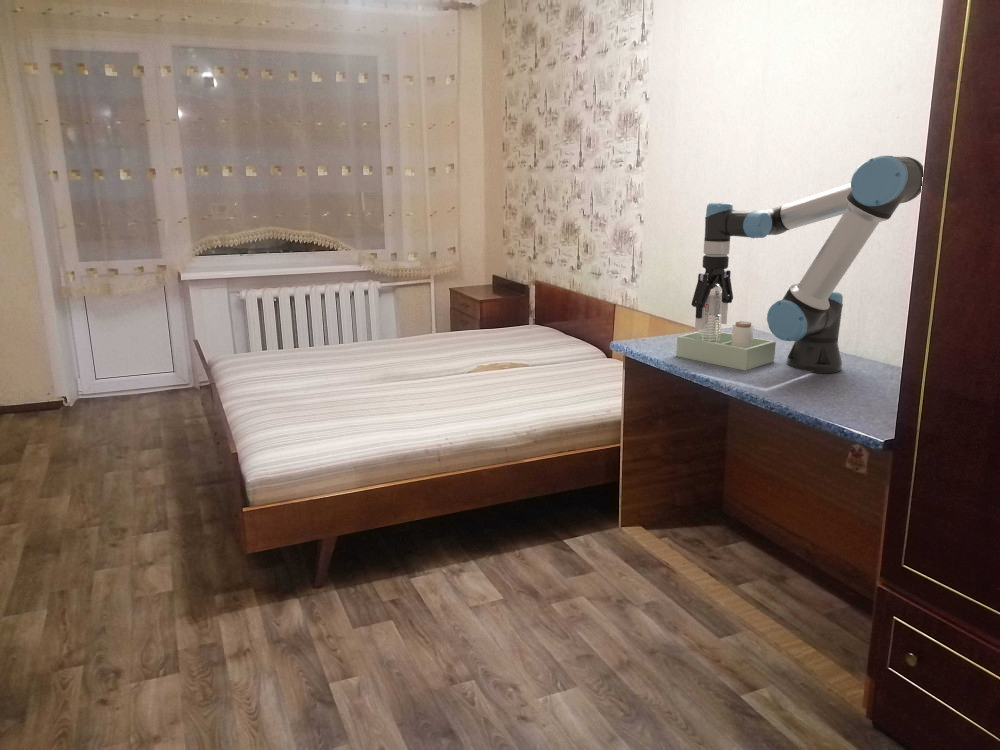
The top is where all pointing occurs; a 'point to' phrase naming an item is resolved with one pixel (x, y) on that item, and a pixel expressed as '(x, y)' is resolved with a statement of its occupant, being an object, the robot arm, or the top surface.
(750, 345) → the jar
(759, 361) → the tote
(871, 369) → the top surface
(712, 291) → the water bottle
